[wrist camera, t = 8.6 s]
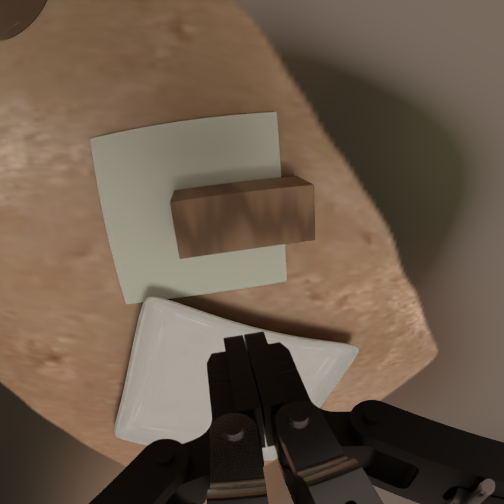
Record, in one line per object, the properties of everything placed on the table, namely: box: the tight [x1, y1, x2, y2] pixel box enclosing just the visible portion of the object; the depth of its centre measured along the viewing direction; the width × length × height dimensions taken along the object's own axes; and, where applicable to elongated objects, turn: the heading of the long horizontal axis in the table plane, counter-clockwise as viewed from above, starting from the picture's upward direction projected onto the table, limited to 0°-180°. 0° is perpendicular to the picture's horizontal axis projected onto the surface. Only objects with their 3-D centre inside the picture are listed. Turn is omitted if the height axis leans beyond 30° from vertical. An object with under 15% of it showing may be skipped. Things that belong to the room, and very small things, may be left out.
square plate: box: [114, 296, 359, 461], centre depth 39 cm, size 27×27×4 cm
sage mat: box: [90, 112, 287, 304], centre depth 31 cm, size 18×18×1 cm
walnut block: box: [170, 176, 315, 259], centre depth 29 cm, size 5×5×12 cm
